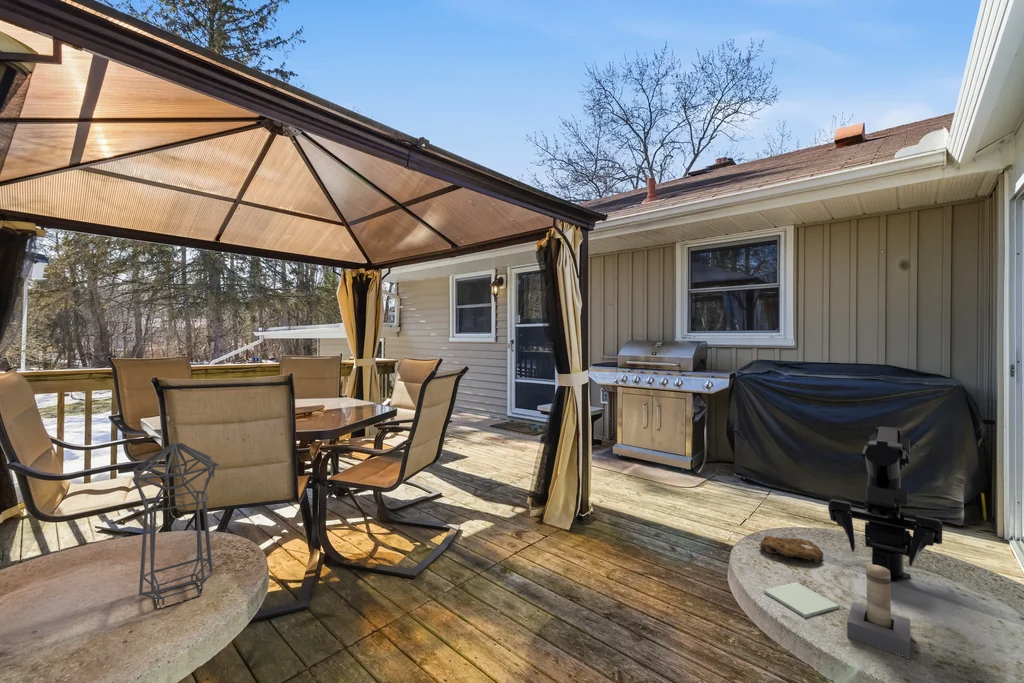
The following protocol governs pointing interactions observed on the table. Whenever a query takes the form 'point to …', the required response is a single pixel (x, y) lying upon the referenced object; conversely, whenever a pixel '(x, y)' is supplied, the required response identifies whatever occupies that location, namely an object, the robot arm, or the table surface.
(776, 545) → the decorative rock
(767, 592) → the mat
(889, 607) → the plug
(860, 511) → the robot arm
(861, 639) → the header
